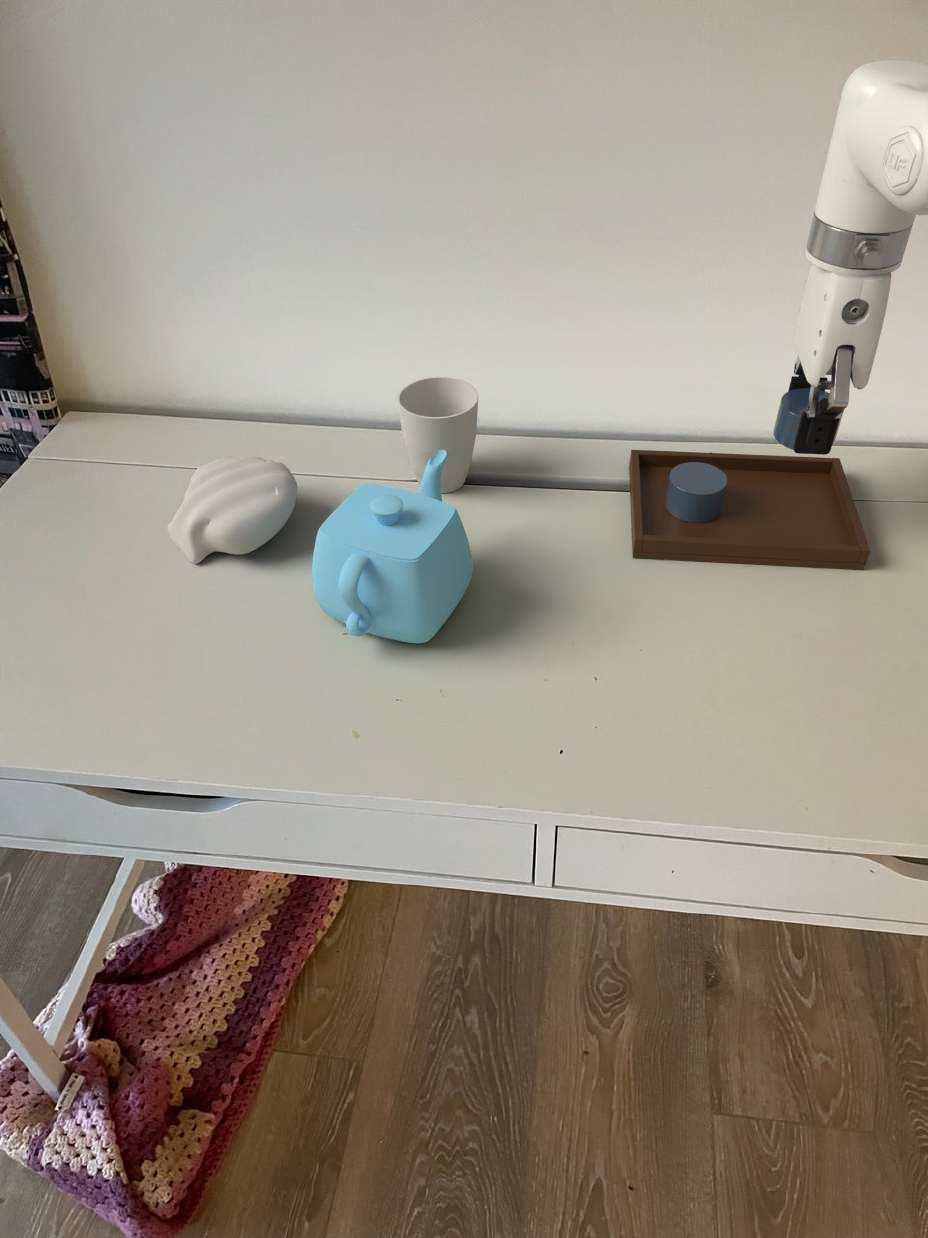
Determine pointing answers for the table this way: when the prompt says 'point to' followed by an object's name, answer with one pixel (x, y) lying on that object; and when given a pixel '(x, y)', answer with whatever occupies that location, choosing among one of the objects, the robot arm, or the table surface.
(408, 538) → the teapot
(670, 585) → the table surface
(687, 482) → the blue short cylinder
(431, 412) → the cup
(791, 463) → the tray
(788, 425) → the blue-grey hockey puck
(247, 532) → the shell shaped sculpture
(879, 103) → the robot arm
